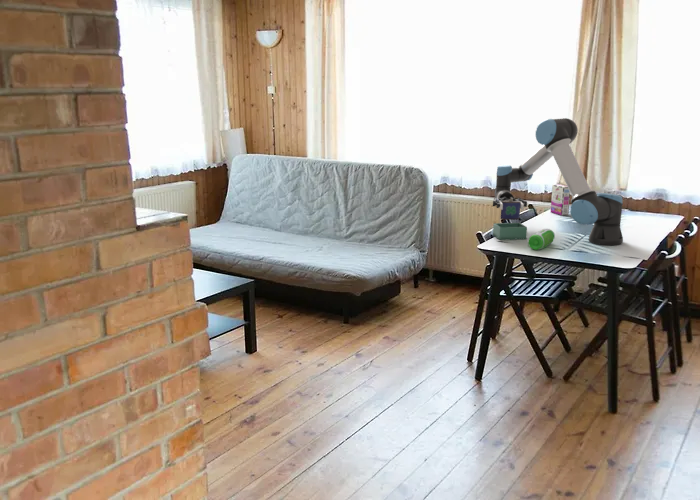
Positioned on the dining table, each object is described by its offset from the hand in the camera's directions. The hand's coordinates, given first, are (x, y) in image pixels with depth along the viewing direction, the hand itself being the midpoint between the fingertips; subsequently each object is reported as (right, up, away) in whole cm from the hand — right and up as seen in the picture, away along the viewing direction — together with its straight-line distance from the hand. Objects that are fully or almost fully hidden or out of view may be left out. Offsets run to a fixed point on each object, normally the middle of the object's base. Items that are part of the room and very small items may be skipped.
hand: (512, 206), depth 316 cm
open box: (+1, -14, +8) cm, 17 cm away
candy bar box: (+43, 0, +64) cm, 77 cm away
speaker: (+11, -20, -10) cm, 25 cm away
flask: (0, -6, +6) cm, 9 cm away
